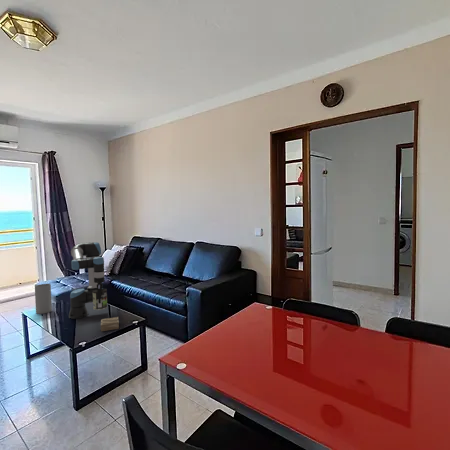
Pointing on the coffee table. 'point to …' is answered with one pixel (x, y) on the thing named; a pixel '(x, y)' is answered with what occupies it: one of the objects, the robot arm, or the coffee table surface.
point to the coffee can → (103, 297)
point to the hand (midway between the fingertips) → (100, 305)
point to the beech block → (109, 324)
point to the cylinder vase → (43, 298)
